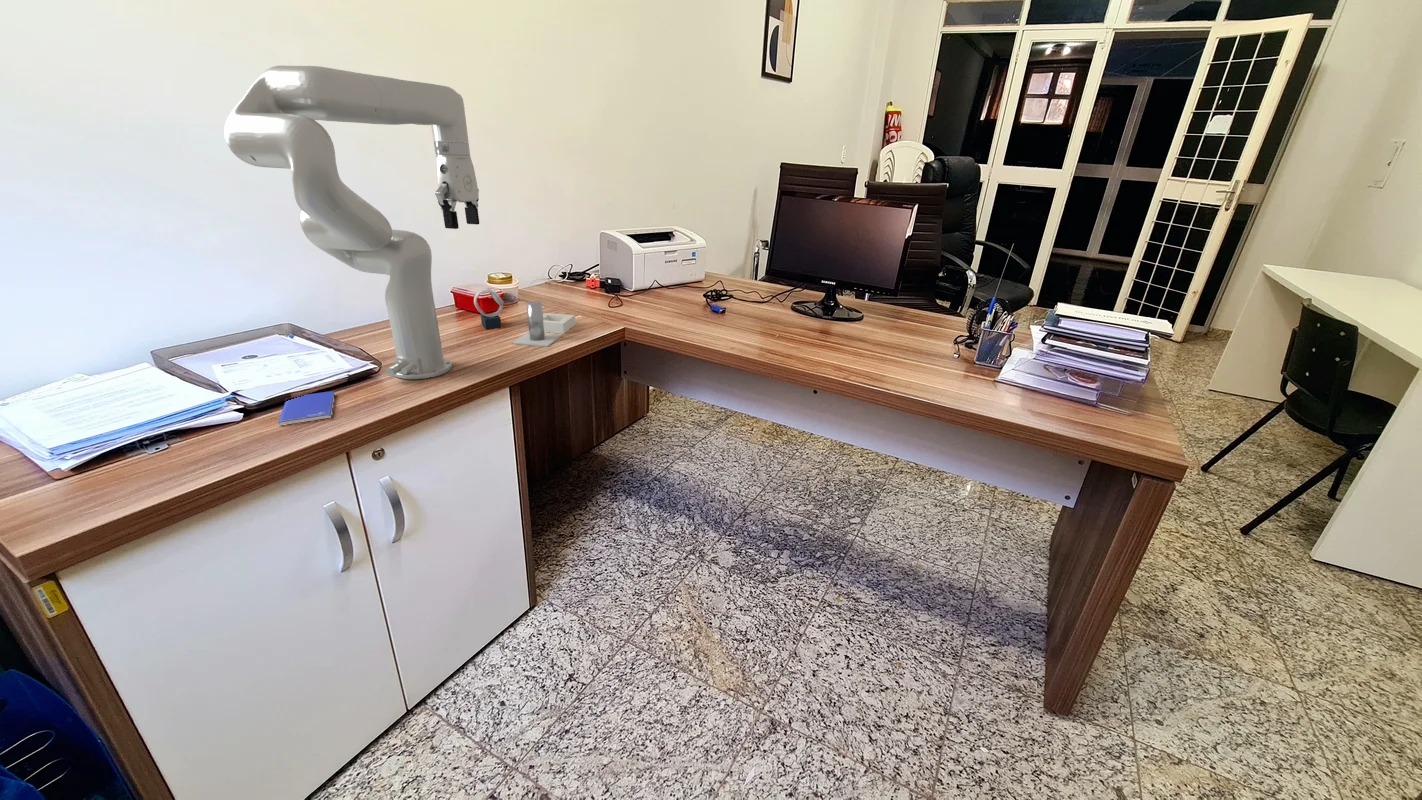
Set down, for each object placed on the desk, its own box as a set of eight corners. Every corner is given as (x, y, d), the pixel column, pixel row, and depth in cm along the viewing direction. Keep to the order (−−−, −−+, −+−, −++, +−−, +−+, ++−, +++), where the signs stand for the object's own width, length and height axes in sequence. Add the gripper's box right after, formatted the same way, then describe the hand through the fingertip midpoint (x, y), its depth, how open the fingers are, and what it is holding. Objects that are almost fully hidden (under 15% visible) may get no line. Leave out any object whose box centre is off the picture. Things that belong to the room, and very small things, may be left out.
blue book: (330, 413, 105) (334, 390, 115) (277, 421, 101) (285, 396, 111) (332, 421, 106) (335, 397, 116) (279, 429, 102) (288, 404, 112)
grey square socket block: (563, 333, 160) (563, 323, 158) (532, 331, 161) (531, 321, 159) (575, 324, 168) (574, 315, 167) (545, 322, 169) (544, 312, 168)
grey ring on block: (508, 327, 164) (504, 290, 159) (479, 330, 159) (474, 292, 155) (503, 322, 168) (499, 286, 163) (475, 325, 164) (470, 288, 159)
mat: (547, 346, 148) (547, 345, 148) (512, 344, 150) (512, 342, 149) (561, 336, 158) (561, 334, 157) (528, 333, 159) (528, 332, 158)
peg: (541, 341, 151) (538, 305, 147) (527, 340, 152) (523, 304, 148) (547, 336, 155) (544, 301, 151) (533, 335, 155) (530, 300, 151)
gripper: (446, 151, 122) (458, 231, 129) (485, 151, 138) (494, 223, 145) (415, 149, 123) (428, 229, 130) (457, 150, 139) (467, 221, 145)
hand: (462, 226), depth 137 cm, fingers open, 9 cm apart
